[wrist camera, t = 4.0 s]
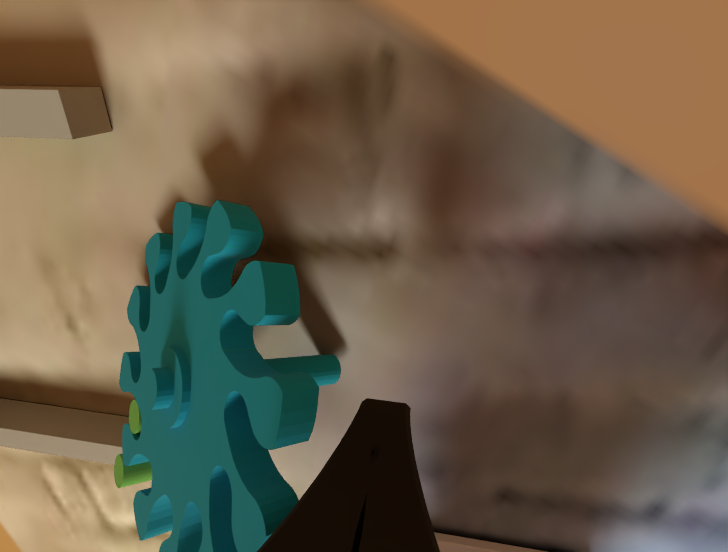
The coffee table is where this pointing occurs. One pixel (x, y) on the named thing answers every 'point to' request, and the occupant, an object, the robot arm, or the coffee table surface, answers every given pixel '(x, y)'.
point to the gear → (213, 386)
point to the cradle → (37, 421)
